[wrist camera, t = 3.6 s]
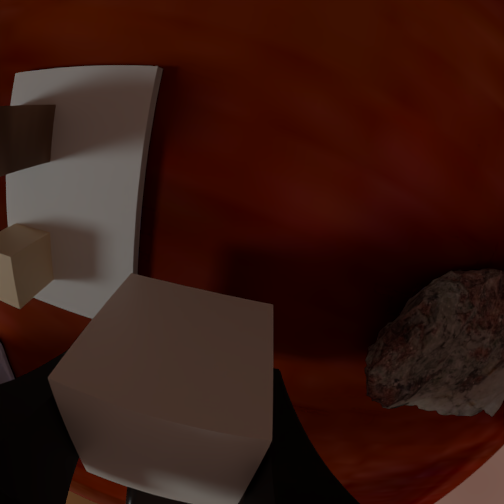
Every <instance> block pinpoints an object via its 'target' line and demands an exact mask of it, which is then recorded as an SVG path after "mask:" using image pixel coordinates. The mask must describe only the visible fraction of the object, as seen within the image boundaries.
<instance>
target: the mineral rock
mask: <svg viewBox="0 0 504 504" xmlns="http://www.w3.org/2000/svg"><path fill="white" fill-rule="evenodd" d="M368 351H369V352H368V355H367V357H366V360H365V361H366V364H367V366H366V368H365V374H366V376H367V380H366V384H367V396H369V397H371V398H372V401H376V402H378V403H380V404H381V405H382V407H384V408H387V409H389V408H391V409H393V408H397V407H400V406H403V405H409V406H413V405H417V406H418V408H419V409H423V410H427V411H433V410H436V411H437V413H439V414H441V415H451V414H453V415H457V416H473V415H476V414H478V413H479V412H481V411H482V410H485V412H486V413H487V414H489V415H490V416H491V417H492V416H494V414H495V413H496V411H497V410H498V409H499V408H500V406H501V404H502V402H503V400H504V270H503V271H501V270H496V269H484V268H483V269H481V270H469V271H462V270H461V269H460V270H457V271H454V272H453V271H450V272H448V273H446V274H445V275H443V276H441V277H439V278H437V279H435V280H433V281H432V282H431V283H430V284H429V285H428V286H426V287H424V288H423V289H422V290H421V291H420V292H419V293H417V294H416V295H415V296H413V297H412V298H409V300H408V301H407V303H406V305H405V307H404V308H403V310H402V312H401V313H400V315H399V316H398V317H397V318H396V319H395V320H394V321H393V322H389V323H388V324H387V325H386V326H385V327H384V328H382V329H381V330H380V332H378V337H377V341H376V343H375V344H373V345H371V346H369V347H368Z"/></svg>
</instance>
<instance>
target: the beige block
mask: <svg viewBox="0 0 504 504" xmlns="http://www.w3.org/2000/svg"><path fill="white" fill-rule="evenodd" d="M48 380H49V383H50V386H51V389H52V392H53V395H54V398H55V401H56V403H57V406H58V409H59V411H60V414H61V416H62V419H63V421H64V424H65V426H66V428H67V431H68V433H69V435H70V438H71V440H72V442H73V444H74V446H75V448H76V451H77V453H78V455H79V457H80V459H81V461H82V463H83V465H84V467H85V469H86V471H87V472H90V473H92V474H95V475H97V476H100V477H102V478H105V479H108V480H110V481H113V482H116V483H119V484H121V485H124V486H127V487H130V488H134V489H137V490H140V491H143V492H147V493H150V494H154V495H157V496H161V497H165V498H169V499H173V500H177V501H181V502H186V503H190V504H238V503H239V501H240V499H241V498H242V496H243V494H244V492H245V491H246V489H247V487H248V485H249V483H250V482H251V480H252V478H253V476H254V474H255V473H256V471H257V469H258V467H259V465H260V463H261V461H262V459H263V458H264V456H265V454H266V452H267V450H268V448H269V446H270V444H271V442H272V426H273V304H268V303H263V302H258V301H253V300H248V299H243V298H238V297H234V296H229V295H224V294H219V293H215V292H210V291H206V290H201V289H197V288H192V287H188V286H183V285H179V284H175V283H170V282H166V281H162V280H158V279H153V278H149V277H145V276H141V275H137V274H133V273H131V274H130V275H129V276H128V277H127V279H126V280H125V281H124V282H123V283H122V284H121V286H120V287H119V288H118V289H117V290H116V291H115V293H114V294H113V295H112V296H111V297H110V299H109V300H108V301H107V302H106V303H105V305H104V306H103V307H102V308H101V309H100V311H99V312H98V313H97V314H96V315H95V317H94V318H93V319H92V320H91V322H90V323H89V324H88V325H87V327H86V328H85V329H84V330H83V332H82V333H81V334H80V335H79V337H78V338H77V339H76V341H75V342H74V343H73V344H72V346H71V347H70V348H69V350H68V351H67V352H66V354H65V355H64V356H63V357H62V359H61V360H60V361H59V363H58V364H57V365H56V367H55V368H54V370H53V371H52V372H51V374H50V375H49V376H48Z"/></svg>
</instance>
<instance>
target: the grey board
mask: <svg viewBox="0 0 504 504" xmlns="http://www.w3.org/2000/svg"><path fill="white" fill-rule="evenodd" d="M162 71H163V69H162V68H160V67H158V66H137V65H102V66H78V67H64V68H53V69H43V70H35V71H28V72H21V73H16V74H15V79H14V85H13V91H12V98H11V106H16V105H56V108H55V116H54V124H53V133H52V145H51V159H50V162H48V163H44V164H40V165H37V166H33V167H30V168H26V169H23V170H19V171H16V172H13V173H10V174H6V201H7V219H8V228H6V229H4V230H2V231H0V300H1V301H3V302H5V303H7V304H10V305H12V306H14V307H16V308H18V309H21V308H22V307H23V306H24V305H25V304H26V303H27V302H29V301H30V300H31V299H32V298H36V299H39V300H41V301H44V302H46V303H49V304H52V305H54V306H57V307H60V308H62V309H65V310H68V311H71V312H74V313H77V314H80V315H82V316H85V317H88V318H91V319H93V318H94V317H95V315H96V314H97V313H98V312H99V311H100V309H101V308H102V307H103V306H104V305H105V303H106V302H107V301H108V300H109V299H110V297H111V296H112V295H113V294H114V293H115V291H116V290H117V289H118V288H119V287H120V286H121V284H122V283H123V282H124V281H125V280H126V279H127V277H128V276H129V275H130V274H131V273H133V274H137V275H138V254H139V237H140V223H141V211H142V200H143V190H144V181H145V172H146V164H147V157H148V150H149V143H150V136H151V130H152V123H153V118H154V112H155V106H156V101H157V96H158V90H159V85H160V81H161V76H162Z"/></svg>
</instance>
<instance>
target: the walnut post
mask: <svg viewBox="0 0 504 504" xmlns="http://www.w3.org/2000/svg"><path fill="white" fill-rule="evenodd" d="M55 108H56V105H16V106H0V176H3V175H6V174H10V173H13V172H16V171H19V170H23V169H26V168H30V167H33V166H37V165H40V164H44V163H48V162H50V159H51V145H52V133H53V124H54V116H55Z"/></svg>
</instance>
